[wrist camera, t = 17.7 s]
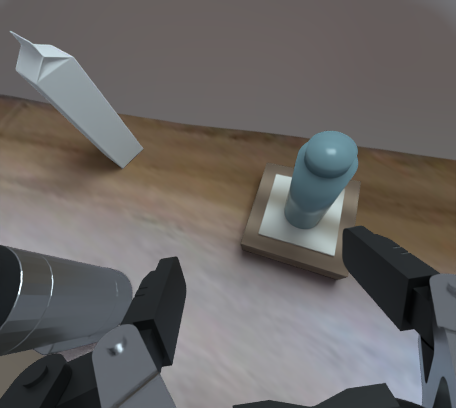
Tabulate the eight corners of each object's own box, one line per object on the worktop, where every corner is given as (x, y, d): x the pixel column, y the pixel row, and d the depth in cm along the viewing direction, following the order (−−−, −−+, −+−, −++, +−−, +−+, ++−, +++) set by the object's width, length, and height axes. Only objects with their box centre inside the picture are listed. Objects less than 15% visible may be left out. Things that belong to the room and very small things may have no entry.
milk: (123, 169, 44) (8, 59, 24) (105, 155, 46) (-14, 44, 26) (144, 148, 45) (52, 28, 25) (126, 136, 47) (29, 17, 27)
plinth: (337, 279, 30) (349, 276, 26) (242, 249, 34) (240, 242, 30) (350, 194, 35) (361, 180, 31) (266, 175, 39) (267, 161, 35)
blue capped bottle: (318, 234, 29) (361, 181, 17) (279, 223, 30) (293, 166, 18) (325, 200, 31) (368, 131, 18) (288, 191, 32) (306, 121, 20)
